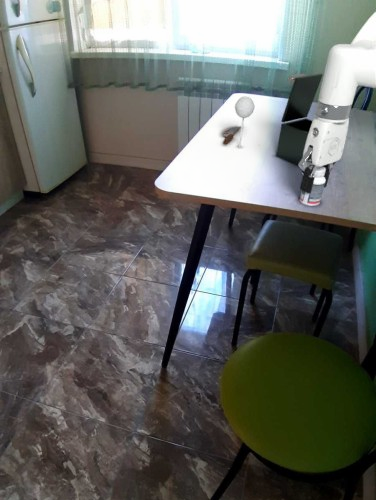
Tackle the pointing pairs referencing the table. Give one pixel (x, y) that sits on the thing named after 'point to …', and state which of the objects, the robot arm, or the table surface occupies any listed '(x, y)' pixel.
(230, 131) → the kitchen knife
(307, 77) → the bin lid
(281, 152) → the bin
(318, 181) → the pill bottle
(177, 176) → the table surface
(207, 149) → the table surface
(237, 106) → the lollipop
